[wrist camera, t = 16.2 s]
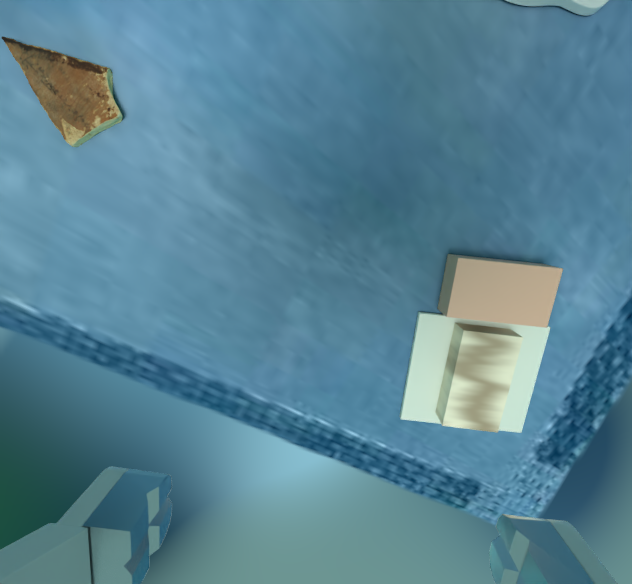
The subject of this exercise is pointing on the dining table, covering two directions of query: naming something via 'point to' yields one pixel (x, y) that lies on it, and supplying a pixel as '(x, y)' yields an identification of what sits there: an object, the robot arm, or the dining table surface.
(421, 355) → the rubber mat
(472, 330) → the birch block
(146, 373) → the dining table surface
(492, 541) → the robot arm
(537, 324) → the terracotta step
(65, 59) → the shard
